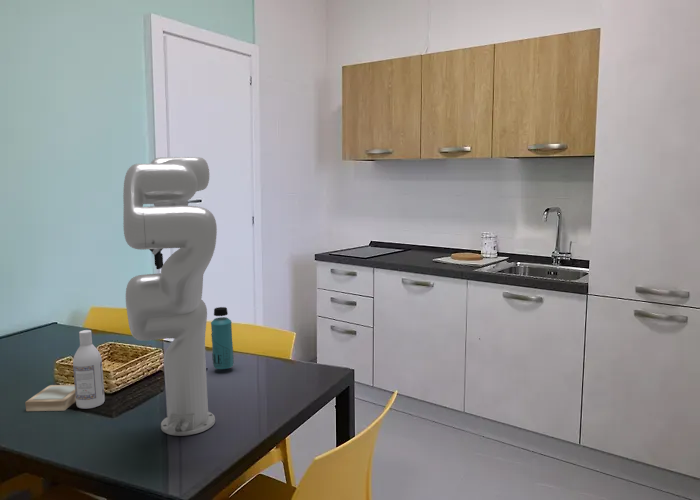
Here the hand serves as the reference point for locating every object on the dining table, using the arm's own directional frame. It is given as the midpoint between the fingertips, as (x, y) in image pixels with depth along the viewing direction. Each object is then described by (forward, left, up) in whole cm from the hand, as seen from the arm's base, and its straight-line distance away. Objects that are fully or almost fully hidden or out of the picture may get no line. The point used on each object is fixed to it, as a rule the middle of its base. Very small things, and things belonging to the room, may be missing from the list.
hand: (177, 268), depth 154 cm
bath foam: (-8, +23, -35) cm, 43 cm away
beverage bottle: (+17, -7, -35) cm, 40 cm away
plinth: (-6, +33, -35) cm, 48 cm away
